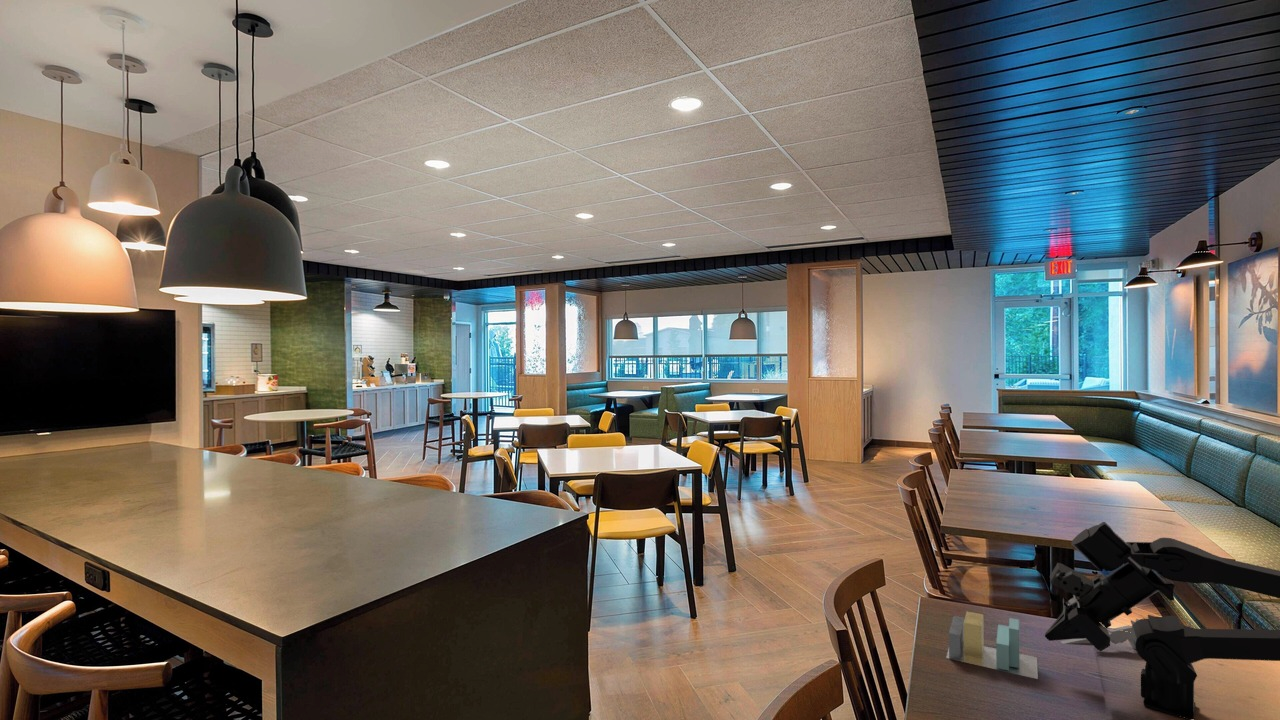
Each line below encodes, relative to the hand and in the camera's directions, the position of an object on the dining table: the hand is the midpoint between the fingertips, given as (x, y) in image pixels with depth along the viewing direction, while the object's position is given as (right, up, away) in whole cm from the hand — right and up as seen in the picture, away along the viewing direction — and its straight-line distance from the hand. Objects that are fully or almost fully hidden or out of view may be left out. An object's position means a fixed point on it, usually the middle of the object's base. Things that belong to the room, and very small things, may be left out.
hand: (1046, 637), depth 114 cm
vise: (-7, -8, +5) cm, 12 cm away
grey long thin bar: (+17, -8, +11) cm, 21 cm away
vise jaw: (-5, -6, +3) cm, 8 cm away
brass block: (-10, -6, +7) cm, 13 cm away
